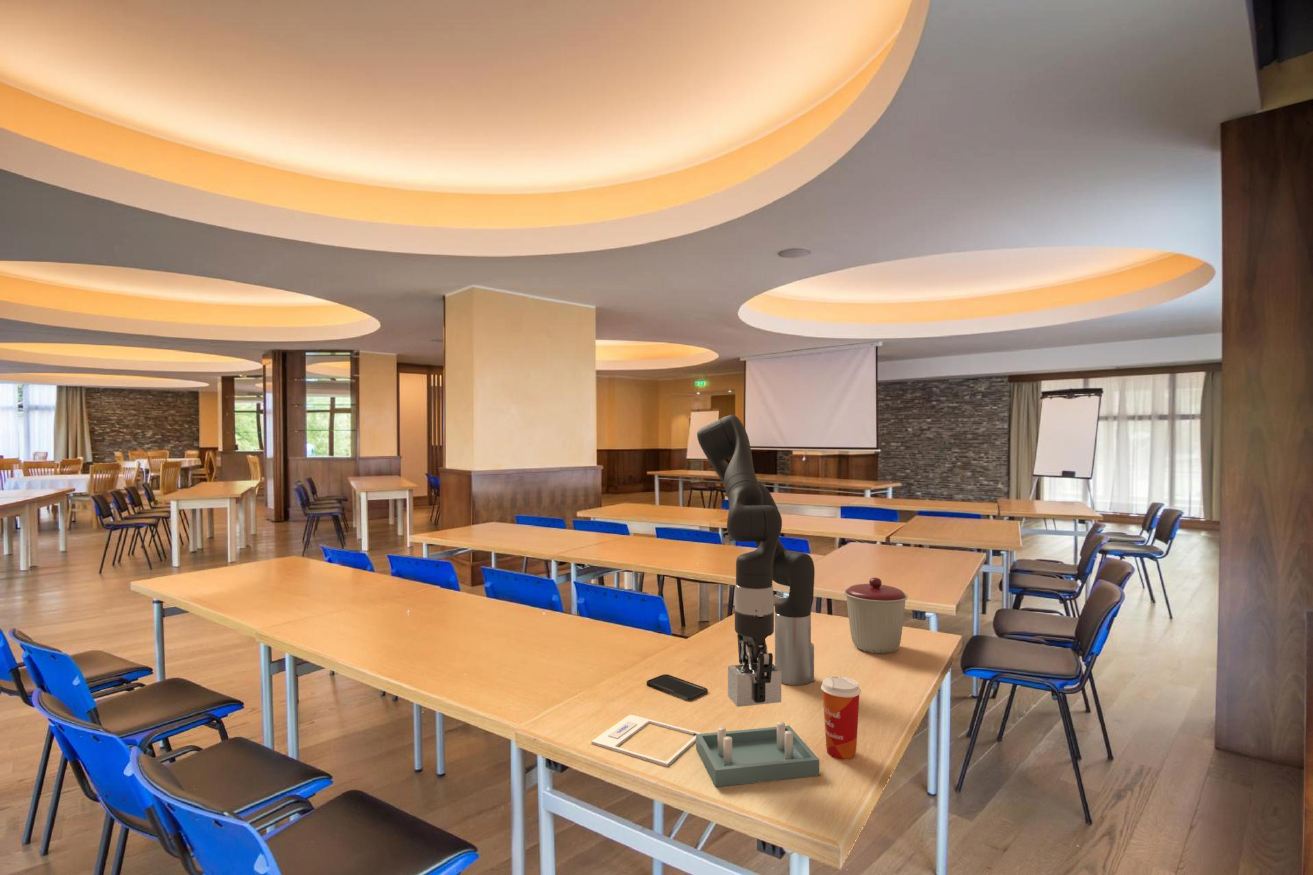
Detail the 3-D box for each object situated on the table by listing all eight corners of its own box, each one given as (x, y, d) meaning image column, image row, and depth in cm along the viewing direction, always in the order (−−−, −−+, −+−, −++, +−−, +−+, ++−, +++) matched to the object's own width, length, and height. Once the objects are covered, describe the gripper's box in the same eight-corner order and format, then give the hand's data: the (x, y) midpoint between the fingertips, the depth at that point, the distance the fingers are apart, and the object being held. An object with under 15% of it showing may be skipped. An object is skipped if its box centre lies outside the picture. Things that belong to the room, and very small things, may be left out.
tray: (789, 739, 129) (789, 710, 129) (819, 775, 116) (819, 743, 116) (696, 749, 126) (695, 719, 126) (715, 786, 112) (715, 753, 112)
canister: (855, 635, 199) (855, 569, 199) (914, 645, 188) (914, 576, 189) (835, 650, 184) (835, 579, 185) (898, 663, 174) (898, 587, 174)
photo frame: (630, 713, 141) (701, 732, 131) (630, 718, 141) (701, 737, 131) (591, 740, 128) (667, 762, 119) (591, 745, 128) (667, 768, 119)
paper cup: (815, 744, 128) (815, 675, 128) (852, 742, 128) (851, 674, 128) (829, 763, 120) (829, 691, 120) (868, 762, 120) (868, 689, 120)
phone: (665, 673, 165) (709, 689, 154) (665, 677, 165) (709, 693, 154) (644, 681, 159) (688, 698, 148) (644, 686, 159) (688, 703, 148)
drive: (737, 706, 117) (737, 673, 117) (727, 696, 122) (728, 664, 122) (781, 702, 119) (781, 669, 119) (770, 691, 124) (770, 660, 124)
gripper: (724, 599, 127) (724, 682, 127) (747, 619, 113) (747, 713, 113) (759, 598, 129) (759, 680, 129) (786, 617, 114) (786, 710, 114)
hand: (754, 695), depth 121 cm, fingers closed on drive, 5 cm apart
